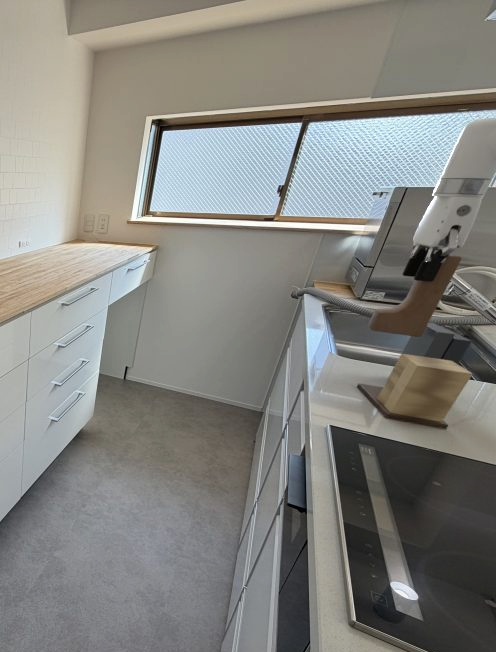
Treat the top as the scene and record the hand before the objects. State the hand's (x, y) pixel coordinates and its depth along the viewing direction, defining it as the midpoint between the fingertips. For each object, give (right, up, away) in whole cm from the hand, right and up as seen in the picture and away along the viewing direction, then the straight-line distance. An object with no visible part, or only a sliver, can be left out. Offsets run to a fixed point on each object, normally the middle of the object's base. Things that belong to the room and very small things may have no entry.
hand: (417, 277), depth 93 cm
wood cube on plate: (-6, -29, -1) cm, 30 cm away
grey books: (+8, -25, +9) cm, 27 cm away
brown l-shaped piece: (0, -12, +6) cm, 13 cm away
